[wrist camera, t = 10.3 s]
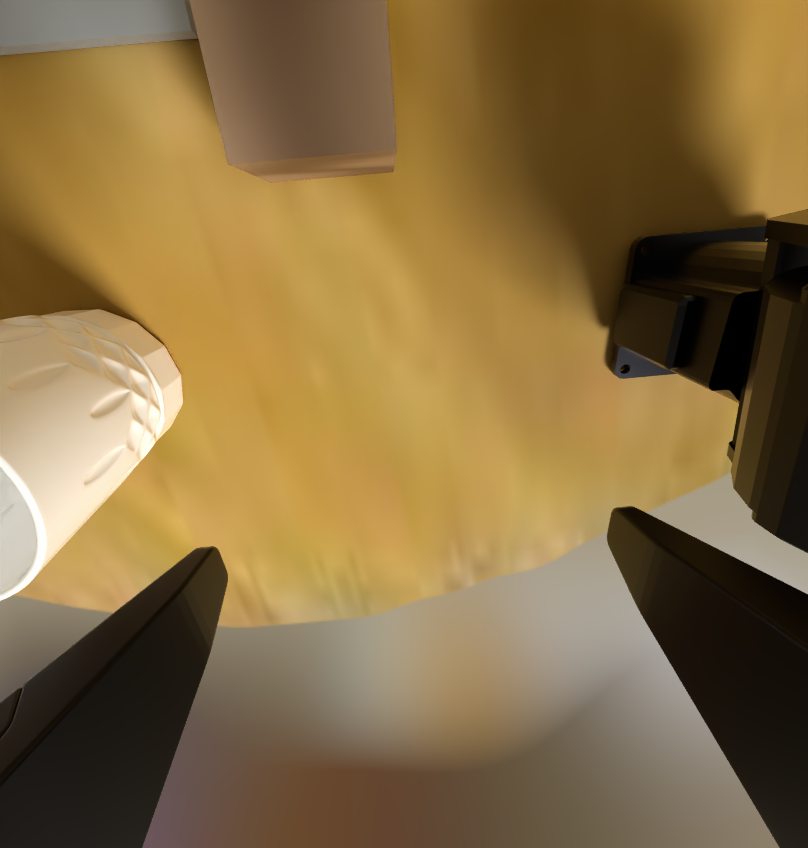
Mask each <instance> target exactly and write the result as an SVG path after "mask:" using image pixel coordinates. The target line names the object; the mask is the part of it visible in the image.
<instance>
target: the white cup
mask: <svg viewBox="0 0 808 848" xmlns="http://www.w3.org/2000/svg"><path fill="white" fill-rule="evenodd" d="M182 405H183V394H182V380H181V374H180V372H179V370H178V369H177V367H176V365H175V363H174V362H173V360H172V358H171V356H170V354H169V353H168V351H167V349H166V347H165V346H164V345H163V344H162V343H160V342H159V341H158V340H157V339H156V338H154V337H153V336H152V335H151V334H150V333H148V332H147V331H146V330H145V329H144V328H142V327H141V326H140V325H139V324H138V323H136V322H134V321H132V320H129V319H126V318H123V317H121V316H118V315H115V314H112V313H110V312H107V311H104V310H101V309H91V310H73V311H61V312H56V313H51V314H46V315H41V316H37V315H27V316H20V317H13V318H8V319H2V320H0V600H3V599H5V598H8V597H10V596H12V595H13V594H15V593H17V592H18V591H20V590H21V589H23V588H24V587H25V586H27V585H28V584H29V583H30V582H31V581H32V580H33V579H34V578H35V576H36V575H37V574H38V573H39V572H40V571H41V570H42V569H43V568H44V567H45V566H46V564H47V563H48V562H49V561H50V560H51V559H52V558H53V557H54V556H55V555H56V554H57V553H58V551H59V550H60V549H61V548H62V547H63V546H64V545H65V544H66V543H67V542H68V541H69V539H70V538H71V537H72V536H73V535H74V534H75V533H76V532H77V531H78V530H79V529H80V528H81V527H82V526H83V524H84V523H85V522H86V521H87V520H88V519H89V518H90V517H91V516H92V515H93V514H94V513H95V512H96V511H97V509H98V508H99V507H100V506H101V505H102V504H103V503H104V502H105V501H106V500H107V499H108V498H109V497H110V496H111V495H112V493H113V492H114V491H115V490H116V489H117V488H118V487H119V486H120V485H121V484H122V482H123V481H124V480H125V479H126V478H127V477H128V475H129V474H130V473H131V472H132V470H133V469H134V468H135V467H136V466H137V465H138V464H139V463H140V462H141V461H142V459H143V458H144V457H145V456H146V455H147V453H148V452H149V451H150V450H151V448H152V447H153V445H154V444H155V442H156V441H157V440H158V439H159V438H160V437H161V436H162V435H163V434H164V433H165V432H166V431H167V430H168V429H169V428H170V427H171V425H172V424H173V422H174V420H175V418H176V416H177V414H178V412H179V410H180V408H181V406H182Z"/></svg>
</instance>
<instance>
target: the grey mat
mask: <svg viewBox="0 0 808 848" xmlns="http://www.w3.org/2000/svg"><path fill="white" fill-rule="evenodd" d="M196 38H198V35H197V30H196V26H195V22H194V18H193V13H192V9H191V5H190V1H189V0H0V56H1V55H13V54H24V53H36V52H47V51H59V50H70V49H82V48H93V47H104V46H116V45H127V44H139V43H150V42H162V41H173V40H185V39H196Z"/></svg>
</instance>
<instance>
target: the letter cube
mask: <svg viewBox="0 0 808 848" xmlns="http://www.w3.org/2000/svg"><path fill="white" fill-rule="evenodd" d="M189 1H190V5H191V9H192V13H193V18H194V22H195V26H196V30H197V35H198V39H199V43H200V48H201V52H202V56H203V60H204V65H205V69H206V73H207V78H208V82H209V86H210V90H211V95H212V99H213V103H214V107H215V112H216V116H217V120H218V125H219V129H220V133H221V137H222V142H223V146H224V150H225V154H226V159H227V163H228V164H229V165H231V166H233V167H236V168H238V169H240V170H243V171H245V172H247V173H250V174H252V175H254V176H257V177H259V178H261V179H264V180H266V181H268V182H271V183H272V182H283V181H295V180H307V179H318V178H330V177H342V176H354V175H365V174H377V173H389V172H393V170H394V165H395V159H396V153H397V142H396V128H395V114H394V100H393V86H392V72H391V58H390V44H389V29H388V15H387V1H386V0H189Z"/></svg>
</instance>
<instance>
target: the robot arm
mask: <svg viewBox="0 0 808 848" xmlns="http://www.w3.org/2000/svg"><path fill="white" fill-rule="evenodd" d="M765 238H766V239H768V240H767V241H766V242H765ZM645 243H646V244H647V250H646V252H645V253H644V254H642V253H641V248H642V246H643V245H644V244H645ZM613 341H614V342H615V347H614V353H613V359H612V365H611V371H612V373H613V374H614V375H616V376H617V377H619V378H623V379H624V378H635V377H646V376H657V375H667V374H679V375H681V376H683V377H685V378H687V379H689V380H691V381H693V382H695V383H697V384H699V385H701V386H703V387H705V388H707V389H710V390H712V391H715V392H717V393H719V394H721V395H724V396H726V397H728V398H730V399H732V400H734V401H736V402H738V403H739V407H738V413H737V419H736V424H735V430H734V436H733V441H731V442H729V446H728V451H727V456H728V457H729V459H730V460H731V462H732V469H731V474H732V480H733V487H734V489H735V490H736V491H737V493H738V494H739V495H740V497H741V498H742V499H743V500H744V502H745V503H746V504H747V505H748V507H749V508H751V509H752V510H753V511H752V519H753V520H754V521H755V522H756V523H758V524H759V525H760V526H762V527H763V528H764V529H766V530H768V531H769V532H770V533H772V534H773V535H775V536H776V537H778V538H779V539H781V540H783V541H785V542H787V543H789V544H790V545H792V546H794V547H796V548H799V549H800V550H802V551H804V552H806V553H808V209H806V210H802V211H798V212H794V213H789V214H785V215H781V216H777V217H773V218H769V219H767V225H761V226H750V227H739V228H728V229H717V230H706V231H695V232H684V233H673V234H662V235H651V236H642V237H639V238H638V239H636V240H635V241H634V243H633V244H632V246H631V249H630V254H629V260H628V266H627V273H626V279H625V285H624V287H623V288H622V290H621V293H620V300H619V306H618V312H617V319H616V325H615V331H614V337H613ZM625 364H626V367H625V369H624V370H623V371H620V369H621V367H622V366H623V365H625ZM607 541H608V545H609V547H610V550H611V552H612V554H613V556H614V558H615V561H616V563H617V565H618V567H619V569H620V571H621V573H622V575H623V578H624V580H625V582H626V584H627V586H628V589H629V591H630V593H631V595H632V597H633V599H634V601H635V603H636V605H637V607H638V609H639V611H640V613H641V615H642V616H643V618H644V620H645V622H646V623H647V625H648V627H649V628H650V630H651V632H652V633H653V635H654V637H655V638H656V640H657V642H658V643H659V645H660V647H661V648H662V650H663V652H664V654H665V655H666V657H667V659H668V660H669V662H670V664H671V665H672V667H673V669H674V670H675V672H676V674H677V676H678V677H679V679H680V681H681V682H682V684H683V686H684V687H685V689H686V691H687V692H688V694H689V696H690V697H691V699H692V701H693V702H694V704H695V706H696V707H697V709H698V711H699V713H700V714H701V716H702V718H703V719H704V721H705V723H706V724H707V726H708V728H709V729H710V731H711V733H712V734H713V736H714V738H715V740H716V741H717V743H718V745H719V746H720V748H721V750H722V751H723V753H724V755H725V756H726V758H727V760H728V761H729V763H730V765H731V766H732V768H733V770H734V772H735V773H736V775H737V777H738V778H739V780H740V782H741V783H742V785H743V787H744V788H745V790H746V792H747V793H748V795H749V797H750V799H751V800H752V802H753V804H754V805H755V807H756V809H757V810H758V812H759V814H760V815H761V817H762V819H763V821H764V822H765V824H766V826H767V827H768V829H769V830H770V832H771V834H772V836H773V837H774V839H775V841H776V842H777V844H778V846H779V847H780V848H808V594H806V593H804V592H802V591H800V590H798V589H796V588H794V587H792V586H790V585H788V584H786V583H784V582H782V581H780V580H778V579H776V578H774V577H772V576H770V575H768V574H766V573H764V572H762V571H760V570H758V569H756V568H754V567H752V566H750V565H748V564H746V563H744V562H742V561H740V560H738V559H736V558H735V557H732V556H730V555H729V554H727V553H725V552H723V551H720V550H719V549H717V548H715V547H713V546H711V545H709V544H707V543H705V542H703V541H701V540H699V539H697V538H695V537H693V536H691V535H689V534H687V533H685V532H683V531H681V530H679V529H677V528H675V527H673V526H671V525H669V524H667V523H665V522H663V521H661V520H659V519H657V518H655V517H653V516H651V515H649V514H647V513H645V512H643V511H641V510H639V509H637V508H635V507H632V506H627V507H617V508H614V509H613V511H612V513H611V517H610V522H609V527H608V533H607ZM227 582H228V574H227V570H226V568H225V565H224V562H223V560H222V557H221V555H220V552H219V550H218V549H217V548H216V547H214V546H211V547H200V548H197V549H195V550H193V551H192V552H191V553H190V554H188V555H187V556H186V557H184V558H183V559H182V560H181V561H179V562H178V563H177V564H176V565H174V566H173V567H172V568H170V569H169V570H168V571H167V572H165V573H164V574H163V575H162V576H160V577H159V578H158V579H156V580H155V581H154V582H153V583H151V584H150V585H149V586H148V587H146V588H145V589H144V590H142V591H141V592H140V593H139V594H137V595H136V596H135V597H134V598H132V599H131V600H130V601H128V602H127V603H126V604H125V605H123V606H122V607H121V608H120V609H118V610H117V611H116V612H114V613H113V614H112V615H111V616H109V617H108V618H107V619H106V620H104V621H103V622H102V623H101V624H99V625H98V626H97V627H95V628H94V629H93V630H91V631H90V632H89V633H88V634H86V635H85V636H84V637H83V638H81V639H80V640H79V641H78V642H76V643H75V644H74V645H72V646H71V647H70V648H69V649H67V650H66V651H65V652H64V653H62V654H61V655H60V656H58V657H57V658H56V659H55V660H53V661H52V662H51V663H49V664H48V665H47V666H46V667H44V668H43V669H42V670H41V671H39V672H38V673H37V674H36V675H34V676H33V677H32V678H30V679H29V680H28V681H26V682H25V683H24V685H23V687H20V688H17V689H16V690H15V691H14V692H12V693H11V694H10V695H9V696H7V697H6V698H5V699H4V700H2V701H1V702H0V848H142V847H143V844H144V841H145V838H146V835H147V832H148V829H149V827H150V824H151V821H152V818H153V815H154V812H155V809H156V807H157V804H158V801H159V798H160V795H161V792H162V790H163V787H164V784H165V781H166V778H167V775H168V772H169V770H170V767H171V764H172V761H173V758H174V755H175V752H176V750H177V747H178V744H179V741H180V738H181V735H182V732H183V730H184V727H185V724H186V721H187V718H188V715H189V713H190V710H191V707H192V704H193V701H194V698H195V695H196V693H197V690H198V687H199V684H200V681H201V678H202V675H203V673H204V670H205V667H206V664H207V661H208V658H209V655H210V652H211V648H212V645H213V641H214V637H215V633H216V628H217V624H218V620H219V616H220V612H221V608H222V604H223V599H224V595H225V591H226V587H227Z"/></svg>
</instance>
